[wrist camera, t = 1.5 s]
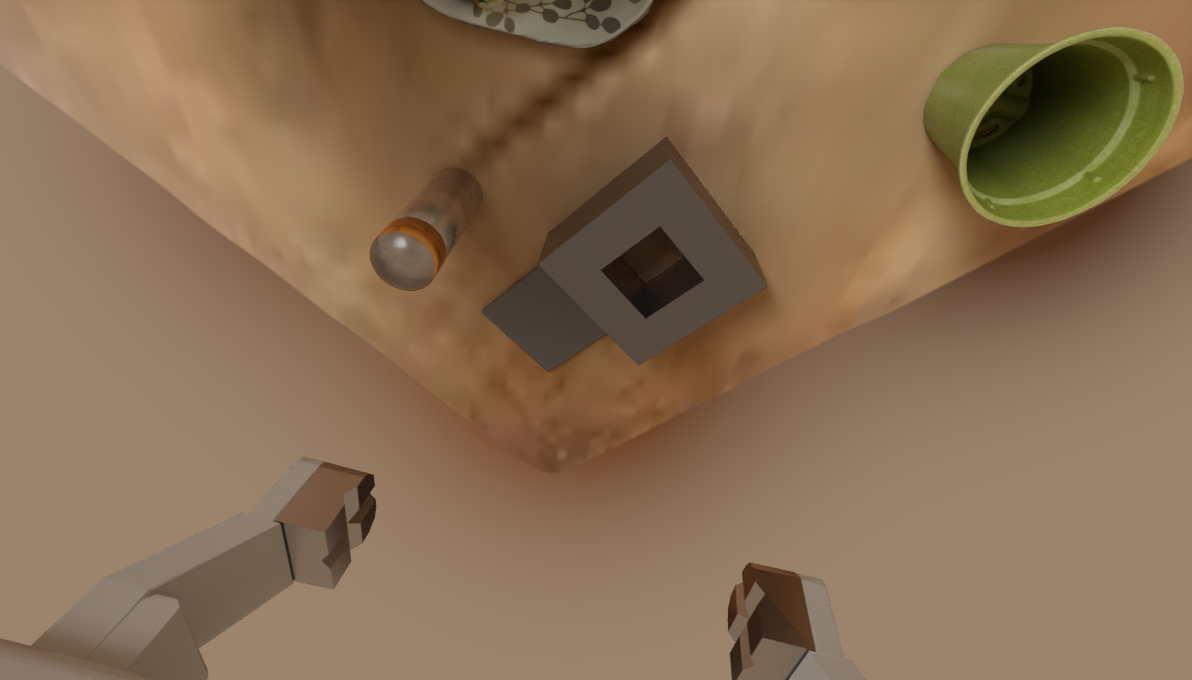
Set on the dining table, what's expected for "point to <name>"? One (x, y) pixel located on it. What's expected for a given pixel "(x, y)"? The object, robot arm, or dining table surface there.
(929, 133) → the plant pot
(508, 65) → the dining table surface
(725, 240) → the grey square block
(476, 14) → the salad plate
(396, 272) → the cylindrical container
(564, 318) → the mat
